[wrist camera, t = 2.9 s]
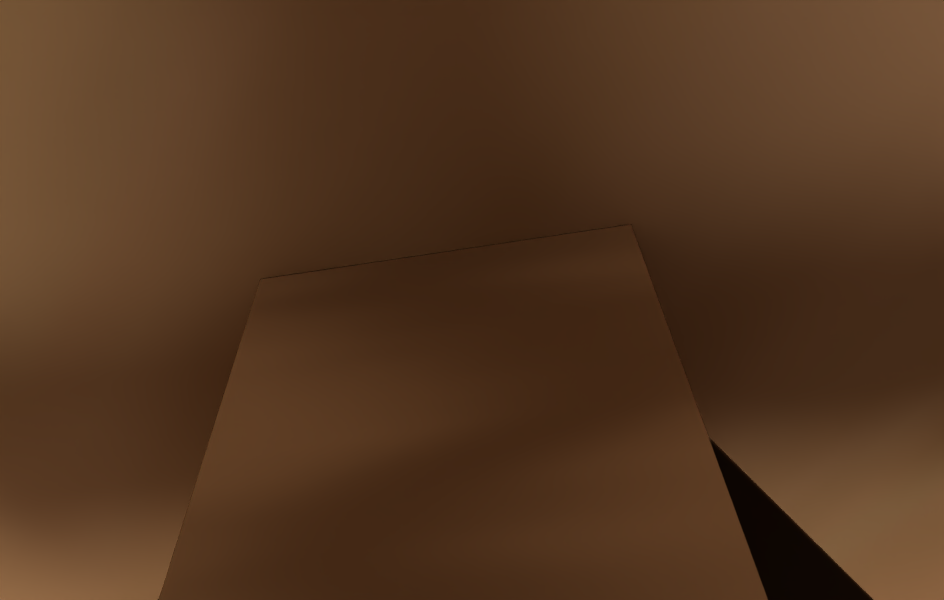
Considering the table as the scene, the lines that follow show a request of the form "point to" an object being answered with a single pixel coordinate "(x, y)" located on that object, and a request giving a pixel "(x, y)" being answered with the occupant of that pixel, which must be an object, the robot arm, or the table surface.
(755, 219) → the table surface
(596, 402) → the brown block
